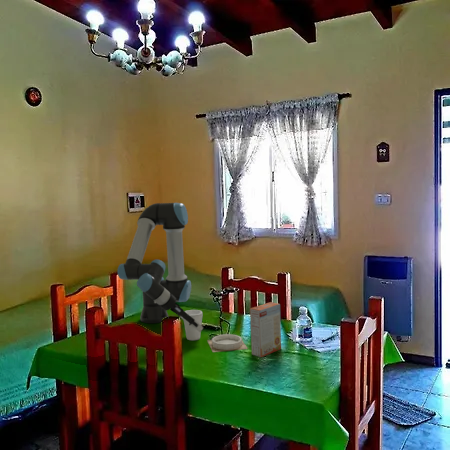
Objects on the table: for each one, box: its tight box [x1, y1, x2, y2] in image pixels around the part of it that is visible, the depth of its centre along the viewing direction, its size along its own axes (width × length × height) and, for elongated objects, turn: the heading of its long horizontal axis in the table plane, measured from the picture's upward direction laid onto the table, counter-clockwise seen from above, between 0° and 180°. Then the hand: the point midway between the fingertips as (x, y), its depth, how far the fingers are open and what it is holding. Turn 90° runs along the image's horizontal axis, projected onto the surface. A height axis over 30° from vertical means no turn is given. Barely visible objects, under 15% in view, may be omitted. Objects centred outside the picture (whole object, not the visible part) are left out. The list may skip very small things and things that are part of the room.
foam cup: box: [182, 309, 204, 341], centre depth 224 cm, size 10×9×13 cm
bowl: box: [211, 333, 243, 350], centre depth 214 cm, size 14×14×2 cm
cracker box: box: [249, 301, 282, 358], centre depth 203 cm, size 14×6×21 cm, turn 134°
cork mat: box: [206, 339, 249, 353], centre depth 214 cm, size 16×16×1 cm
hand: (195, 326), depth 224 cm, fingers open, 13 cm apart
